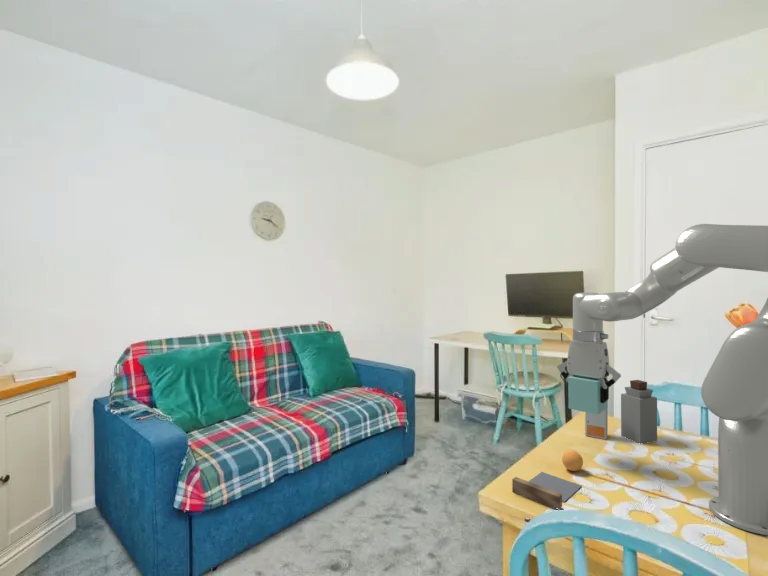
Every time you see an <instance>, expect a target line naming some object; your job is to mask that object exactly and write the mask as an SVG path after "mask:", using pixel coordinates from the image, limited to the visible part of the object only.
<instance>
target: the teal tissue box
mask: <svg viewBox="0 0 768 576" xmlns="http://www.w3.org/2000/svg"><path fill="white" fill-rule="evenodd" d="M606 378H607V379H608V376H607V377H606ZM601 388H602V385H601V384H600V380H598V379H593V378H587V377H581V376H570V377H568V391H567V393H568V394H567V396H568V397H567V398H568V400H567V401H568V404H567V405H568V409H570V410H573V411H574V410H575V411H577V412H578V411H579V412H584V413H585V412H588V413H592V414H597V415H598V414H599V413H601V412H602V411H604V410H605V409H607V408H608V407H609V405H608V404H609V403H608V401H609V399H608V400H607V401H606V402H605V403H601V402H600V389H601Z"/></svg>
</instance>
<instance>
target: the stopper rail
mask: <svg viewBox="0 0 768 576" xmlns="http://www.w3.org/2000/svg"><path fill="white" fill-rule="evenodd" d="M511 481H512V483H511V486H512V488H511V489H512V492H513V493H514V494H516V495H520V496H523V497H525V498H527V499H530V500H531V501H534V502H537V503H539V504H542V505H544V506H546V507H549V508H551V507H554V508H558V509H560V510H561V509H562V508H563V502H562V494H560V493H557V492H555V491H552V490H549V489H547V488H544V487H541V486H539V485H536V484H533V483H531V482H528V481H529V480H525V479H523V478H519V477H517V476H515V477H513V478H512V480H511ZM561 507H562V508H561ZM554 508H553V509H554Z"/></svg>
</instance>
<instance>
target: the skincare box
mask: <svg viewBox="0 0 768 576" xmlns="http://www.w3.org/2000/svg"><path fill="white" fill-rule="evenodd" d="M608 412H609V410H608V408H607V409H605V410H604V411H602V412H601V413H599V414H598V415H597V414H592V413H588V412H584V413H585V414H584V417H585V418H584V423H585V424H584V425H585V427H584V428H585V429H584V430H585V432H584V435H585V437H592V438H597V439H601V440H604V441H605V440H607V437H608V424H609V422H608V421H609V419H608Z"/></svg>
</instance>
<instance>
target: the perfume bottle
mask: <svg viewBox="0 0 768 576" xmlns="http://www.w3.org/2000/svg"><path fill="white" fill-rule="evenodd" d="M629 383H630V386H624V389H625V391H624V392H625V393H620V408H621V409H620V434H621V435H620V436H621V437H623V438H625V437H626V438H625V439H627V438H628V439H627V440H630V441H632V440H633V441H632V442H634V441H635V443H637V444H639V443H640V444H639V445H641V443H643V444H647V442H649V443H654V442H653V441H655V442H658V397H656V396H653V392H654V389H651V388H647V387H648V382H647V381H644V380H640V379H633V380H629Z"/></svg>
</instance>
